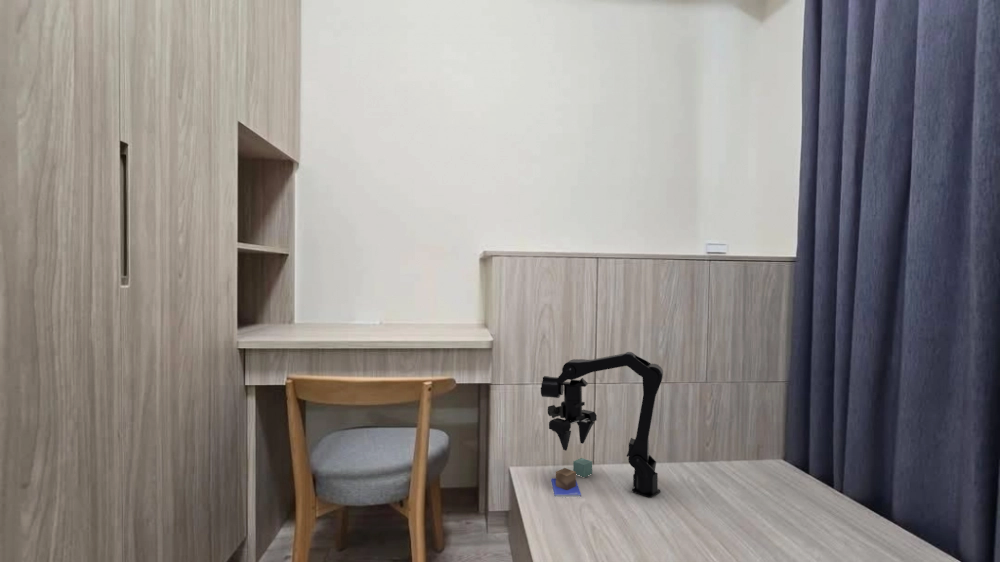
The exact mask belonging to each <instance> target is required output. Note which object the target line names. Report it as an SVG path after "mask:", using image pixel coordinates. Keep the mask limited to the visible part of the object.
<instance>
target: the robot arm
mask: <svg viewBox="0 0 1000 562" xmlns="http://www.w3.org/2000/svg"><path fill="white" fill-rule="evenodd" d="M622 367H628V368H629V369H631V370H632V371H633V372H634V373H636V374H637V375H638V376H640V377H641V378H642V393H643V395H642V399H641V400H642V401H641V407H640V411H639V412H640V413H639V418H638V424H637V431H636V436H635V438H633V437H631V438H630V440H629V442H628V450H627V453H626V458H627V457H628V464H629V465H630V466H631V467H632V468H633V469H634V471H633V474H632V475H633V476H632V479H633V480H632V481H633V482H632V484H633V485H632V486H633V488H632V489H631V492H632V491H633V492H632V493H635V492H636V493H635V494H638V495H641V496H644V497H647V498H652V497H654V496H656V495H657V494H659V493H661V489H659V483H658V482H659V481H658V479H659V478H658V472H656V466H657V461H656V459H654V458H653V457H652V456H651V455H650V438H649V436H650V432H651V424H652V420H653V414H654V408H655V402H656V398H657V397H656V396H657V393H658V391H659V389H660V386H661V383H662V380H663V377H664V370H663V368H662V367H661V365H659V364H656V363H651V362H649V361H648V360H646V359H644V358H642V357H641V356H638V355H637V354H635V353H634V352H632V351H627V352H624V353H618V354H613V355H609V356H604V357H599V358H593V359H583V358H582V359H581V358H579V359H578V358H577V359H576V358H573V359H570V360H568V361H566V363H564V365H563V366H562V369H561V371H562V372H561V373H560V375H558V376H557V377H556V376H555V377H554V376H549V375H544V376H543V377H542V381H541V385H540V386H541V387H540V395H541V397H542V398H555V399H559V398H560V397H561V396H563V395H564V396H563V397H564V398H563V401H561V402H560V405H559V406H556V405H555V404H552V405H548V406H547V415H548V416H549V417H551V418H552V419H551V420H549V422H548V429H549V430H551V432H554V433H556V434H557V436H558V438H559V442H560V445H561V447H562V450H564V451H567V450H568V447H569V443H570V438H571V435H572V430H571V427H572V425H574V424H577V425H578V431H579V432H578V433H579V443H580V444H585V441H586V439H587V437H588V435H589V433H590V432H591V431H590V430H591V429H592V426H593V425H595V422H596V421H598V420H597V417H598V416H597V413H595V412H596V411H592V410H588V409H583V407H584V406H585V405H586V404H585V401H583V396H582V395H583V393H582V392H583V391H582V389H583V388H585V387H587V386H588V385H589V382H587V381H586V379H584V376H586V375H588V374H591V373H595V372H600V371H606V370H610V369H617V368H622ZM581 377H582V378H581ZM579 378H580V379H579ZM568 380H569V381H568ZM559 417H560V418H559Z"/></svg>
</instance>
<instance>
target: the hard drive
mask: <svg viewBox="0 0 1000 562" xmlns="http://www.w3.org/2000/svg"><path fill="white" fill-rule="evenodd" d="M550 483H551V487H553V488H552V492H554V493H553V496H554V498H555V497H562V498H561V499H563V497H565V498H564V499H566V497H577V498H578V497H579V498H578V499H581V498H580V497H582V493H581V490H580V487H579V485H578V484H579V483H578V482H577V480H576V486H575V487H573V488H571V489H569V490H565V489H562V488H560V487H557V486H556V477H555V478H554V477H552V478H550ZM577 498H576V499H577ZM582 498H583V497H582Z"/></svg>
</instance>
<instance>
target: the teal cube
mask: <svg viewBox="0 0 1000 562" xmlns="http://www.w3.org/2000/svg"><path fill="white" fill-rule="evenodd" d="M572 464H573V465H572V466H573V467H572V468H573V470H572V471H575V472H576V474H577V475H580V476H582V477H586V476H588V475H590V474H592V475H593V461H591V460H589V459H586V458H583V457H581V458H578V459H576V460H573V462H572ZM577 475H576V476H577ZM590 476H591V475H590ZM582 477H581V478H582ZM588 477H589V476H588ZM586 478H587V477H586Z"/></svg>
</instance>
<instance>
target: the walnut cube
mask: <svg viewBox="0 0 1000 562" xmlns="http://www.w3.org/2000/svg"><path fill="white" fill-rule="evenodd" d="M555 478H556V486H557V487H560V488H562V489H565V490H569V489H571V488H573V487H575V486H576V481H577V475H576V472H575V471H573V470H572V469H569V468H567V467H563V468H561V469H559V470H556V471H555Z"/></svg>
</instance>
